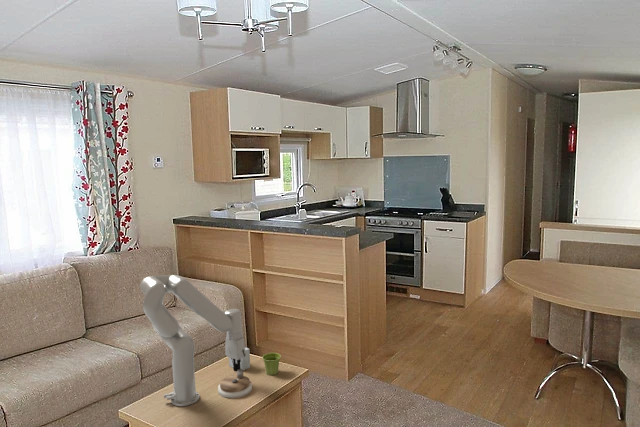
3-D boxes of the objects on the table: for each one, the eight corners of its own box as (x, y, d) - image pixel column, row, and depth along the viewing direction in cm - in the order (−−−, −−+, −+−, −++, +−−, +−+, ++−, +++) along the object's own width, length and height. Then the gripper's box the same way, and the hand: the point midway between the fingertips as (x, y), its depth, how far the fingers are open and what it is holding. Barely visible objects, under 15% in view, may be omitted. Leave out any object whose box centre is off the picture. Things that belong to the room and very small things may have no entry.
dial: (239, 394, 214) (239, 383, 213) (214, 389, 219) (213, 378, 218) (255, 380, 227) (254, 370, 226) (230, 376, 232) (230, 366, 231)
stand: (221, 400, 213) (220, 396, 212) (215, 385, 228) (215, 381, 227) (255, 393, 218) (255, 389, 218) (248, 379, 233) (247, 374, 233)
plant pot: (285, 371, 241) (284, 355, 240) (273, 378, 233) (272, 362, 232) (271, 367, 246) (270, 351, 245) (259, 374, 238) (258, 357, 237)
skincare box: (250, 367, 247) (249, 348, 246) (241, 371, 242) (240, 352, 241) (238, 362, 254) (237, 343, 252) (228, 366, 249) (227, 347, 248)
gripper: (218, 334, 228) (221, 369, 231) (239, 340, 220) (242, 377, 222) (229, 329, 234) (232, 363, 237) (251, 335, 226) (253, 370, 228)
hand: (237, 370), depth 229 cm, fingers closed
